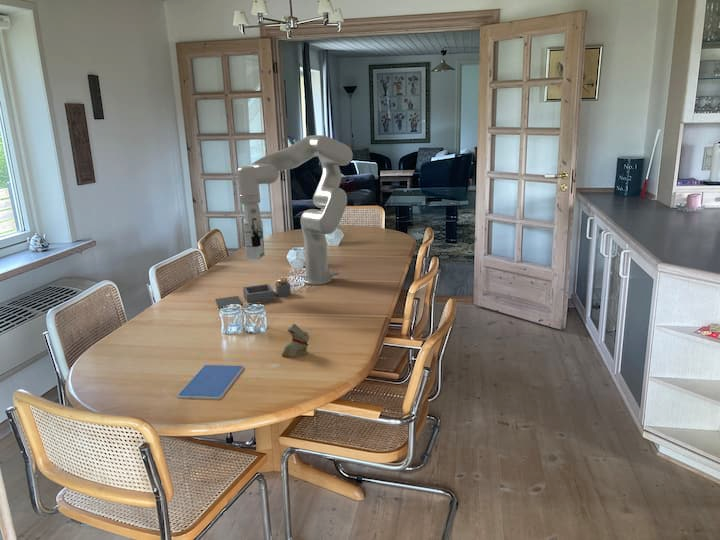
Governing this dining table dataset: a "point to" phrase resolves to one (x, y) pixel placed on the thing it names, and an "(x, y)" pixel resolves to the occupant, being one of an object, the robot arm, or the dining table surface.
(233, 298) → the mat
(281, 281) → the plunger
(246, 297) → the housing
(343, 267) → the dining table surface
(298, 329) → the chocolate bunny
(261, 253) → the syrup box
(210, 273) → the dining table surface
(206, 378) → the tablet computer
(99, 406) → the dining table surface
